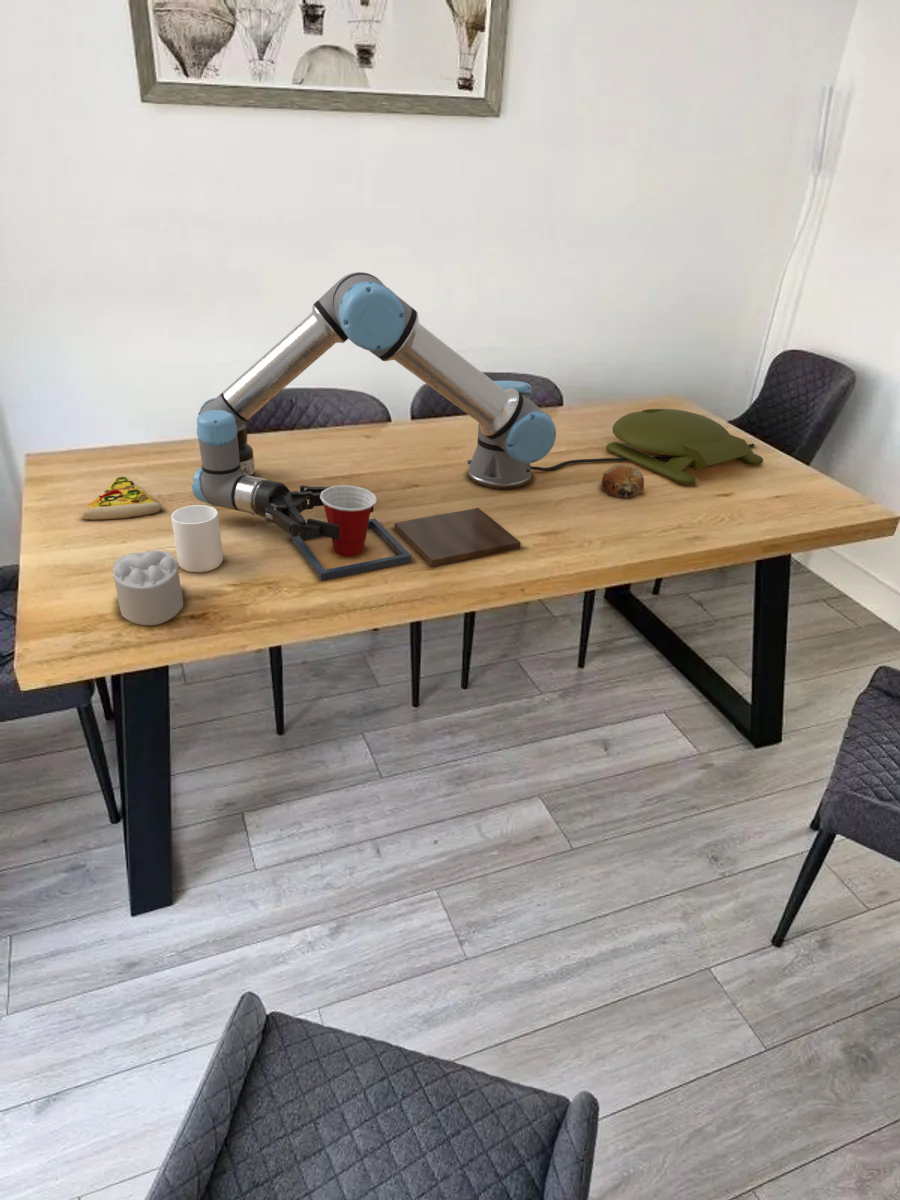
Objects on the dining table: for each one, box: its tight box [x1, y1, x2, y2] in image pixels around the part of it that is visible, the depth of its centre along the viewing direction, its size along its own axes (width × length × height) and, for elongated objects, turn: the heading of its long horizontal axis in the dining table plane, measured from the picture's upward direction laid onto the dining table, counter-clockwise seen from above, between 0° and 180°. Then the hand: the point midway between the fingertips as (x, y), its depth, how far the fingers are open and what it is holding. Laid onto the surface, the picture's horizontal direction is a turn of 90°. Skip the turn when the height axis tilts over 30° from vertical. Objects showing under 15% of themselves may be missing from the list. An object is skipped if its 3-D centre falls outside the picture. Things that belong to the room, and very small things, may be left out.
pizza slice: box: [81, 476, 162, 520], centre depth 179 cm, size 16×21×3 cm
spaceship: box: [605, 408, 764, 486], centre depth 214 cm, size 35×31×10 cm
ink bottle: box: [237, 423, 256, 477], centre depth 190 cm, size 10×9×12 cm
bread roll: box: [601, 463, 645, 499], centre depth 194 cm, size 10×10×8 cm
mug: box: [170, 504, 224, 574], centre depth 155 cm, size 12×8×10 cm
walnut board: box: [393, 507, 521, 568], centre depth 169 cm, size 20×18×2 cm
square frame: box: [290, 517, 412, 581], centre depth 163 cm, size 18×18×2 cm
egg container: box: [112, 549, 184, 626], centre depth 141 cm, size 10×13×9 cm
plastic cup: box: [320, 484, 378, 558], centre depth 160 cm, size 11×11×12 cm
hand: (356, 518), depth 159 cm, fingers open, 13 cm apart
